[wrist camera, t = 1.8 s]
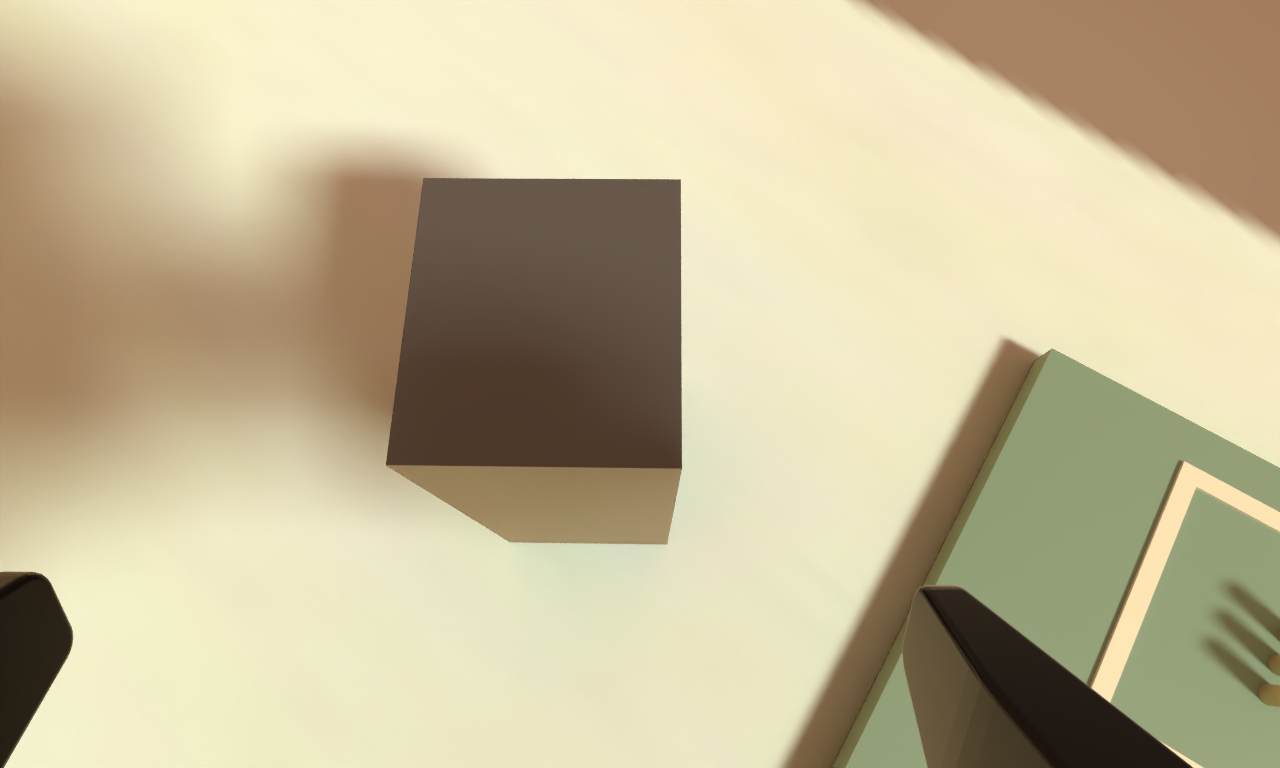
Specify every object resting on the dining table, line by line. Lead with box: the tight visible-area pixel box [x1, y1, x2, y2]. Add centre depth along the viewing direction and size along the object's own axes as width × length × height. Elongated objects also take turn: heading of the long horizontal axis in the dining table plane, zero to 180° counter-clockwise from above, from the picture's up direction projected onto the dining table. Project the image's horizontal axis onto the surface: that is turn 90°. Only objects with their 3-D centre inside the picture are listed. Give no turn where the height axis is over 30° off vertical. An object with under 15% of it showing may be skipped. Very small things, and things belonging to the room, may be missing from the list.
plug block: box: [386, 178, 682, 544], centre depth 16 cm, size 5×4×10 cm
